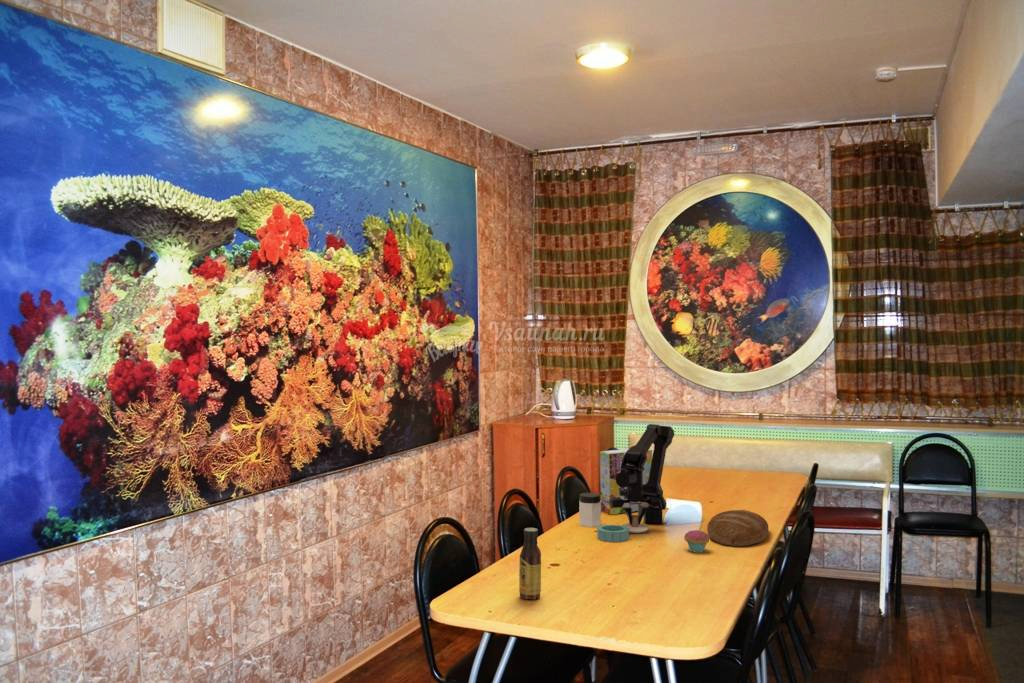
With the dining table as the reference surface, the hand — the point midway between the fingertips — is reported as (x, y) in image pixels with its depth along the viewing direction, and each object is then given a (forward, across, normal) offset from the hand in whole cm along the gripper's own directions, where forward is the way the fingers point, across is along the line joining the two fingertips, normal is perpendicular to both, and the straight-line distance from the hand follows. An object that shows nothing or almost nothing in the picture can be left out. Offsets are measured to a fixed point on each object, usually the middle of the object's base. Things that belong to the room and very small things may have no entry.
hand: (634, 524), depth 323 cm
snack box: (+3, -6, -36) cm, 36 cm away
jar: (+3, +15, -12) cm, 19 cm away
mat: (+3, 0, 0) cm, 3 cm away
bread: (+3, -37, +9) cm, 38 cm away
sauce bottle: (+3, +51, +72) cm, 88 cm away
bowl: (+3, +11, +10) cm, 15 cm away
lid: (+2, 0, 0) cm, 2 cm away
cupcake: (+3, -14, +29) cm, 32 cm away
